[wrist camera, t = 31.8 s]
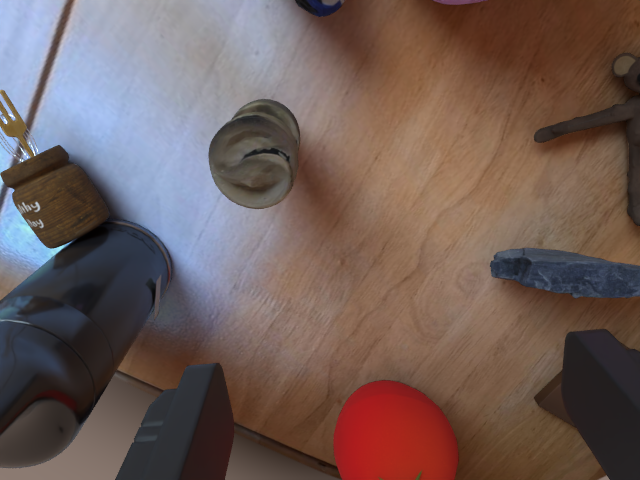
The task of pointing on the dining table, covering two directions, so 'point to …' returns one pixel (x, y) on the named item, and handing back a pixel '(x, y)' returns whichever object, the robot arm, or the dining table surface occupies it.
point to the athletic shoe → (320, 6)
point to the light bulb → (256, 155)
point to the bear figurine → (634, 111)
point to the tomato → (394, 436)
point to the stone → (567, 273)
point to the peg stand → (555, 398)
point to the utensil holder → (50, 189)
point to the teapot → (458, 1)
